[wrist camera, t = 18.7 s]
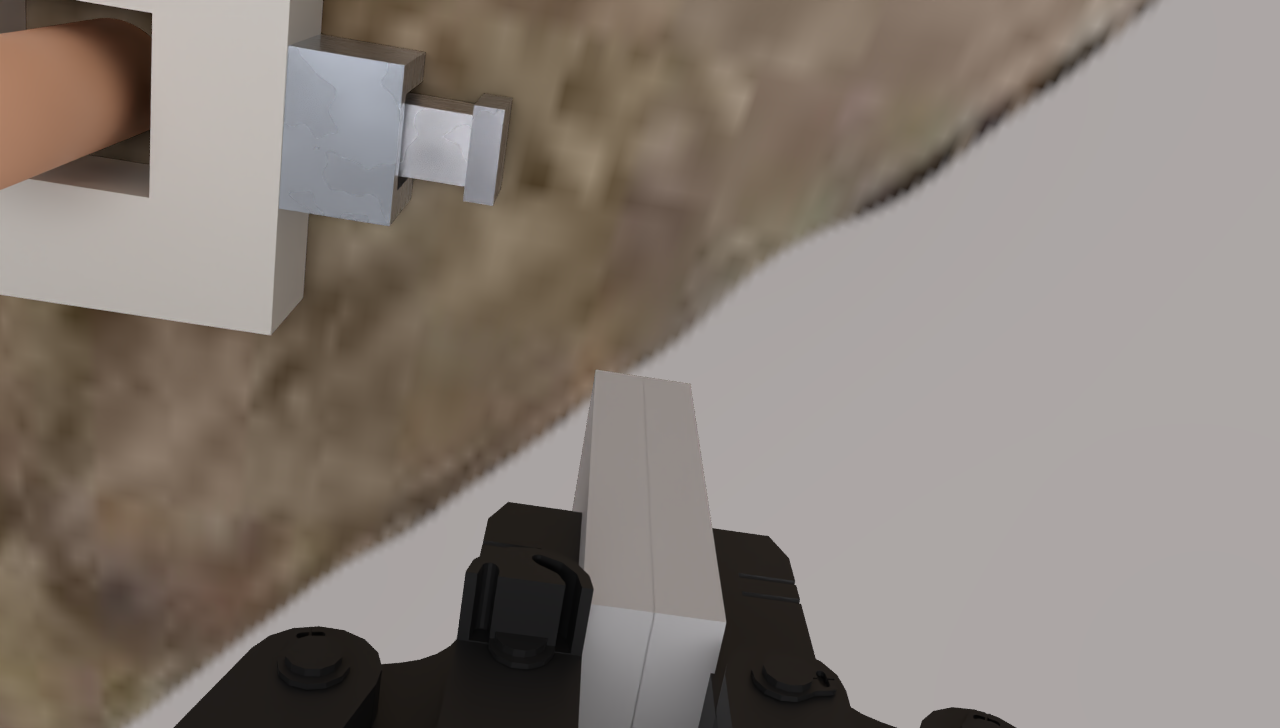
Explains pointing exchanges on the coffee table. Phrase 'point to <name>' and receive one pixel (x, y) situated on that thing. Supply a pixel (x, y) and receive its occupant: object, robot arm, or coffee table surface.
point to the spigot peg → (70, 93)
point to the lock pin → (456, 143)
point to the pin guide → (346, 128)
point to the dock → (177, 182)
